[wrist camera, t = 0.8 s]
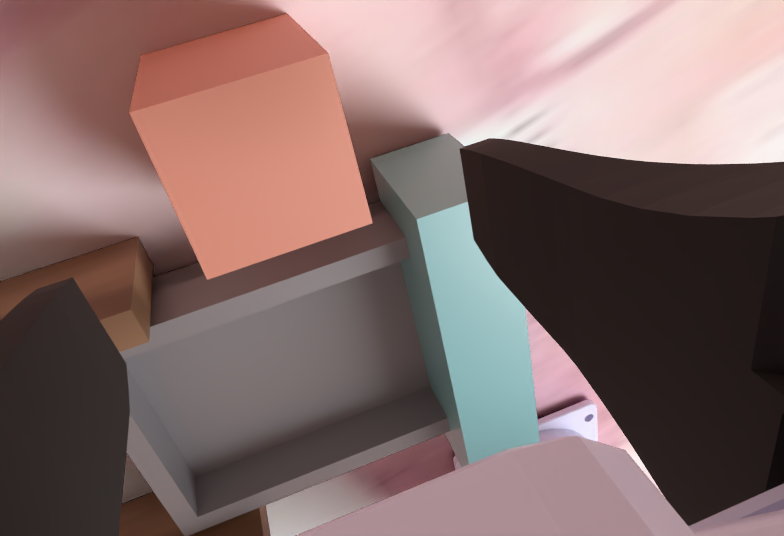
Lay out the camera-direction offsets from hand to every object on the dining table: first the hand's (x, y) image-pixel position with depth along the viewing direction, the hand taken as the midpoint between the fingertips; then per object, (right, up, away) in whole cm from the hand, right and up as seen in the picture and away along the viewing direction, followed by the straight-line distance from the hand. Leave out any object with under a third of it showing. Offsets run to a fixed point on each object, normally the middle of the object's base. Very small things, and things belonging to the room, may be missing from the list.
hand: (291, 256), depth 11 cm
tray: (-1, -3, +13) cm, 14 cm away
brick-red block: (-3, +5, +8) cm, 10 cm away
